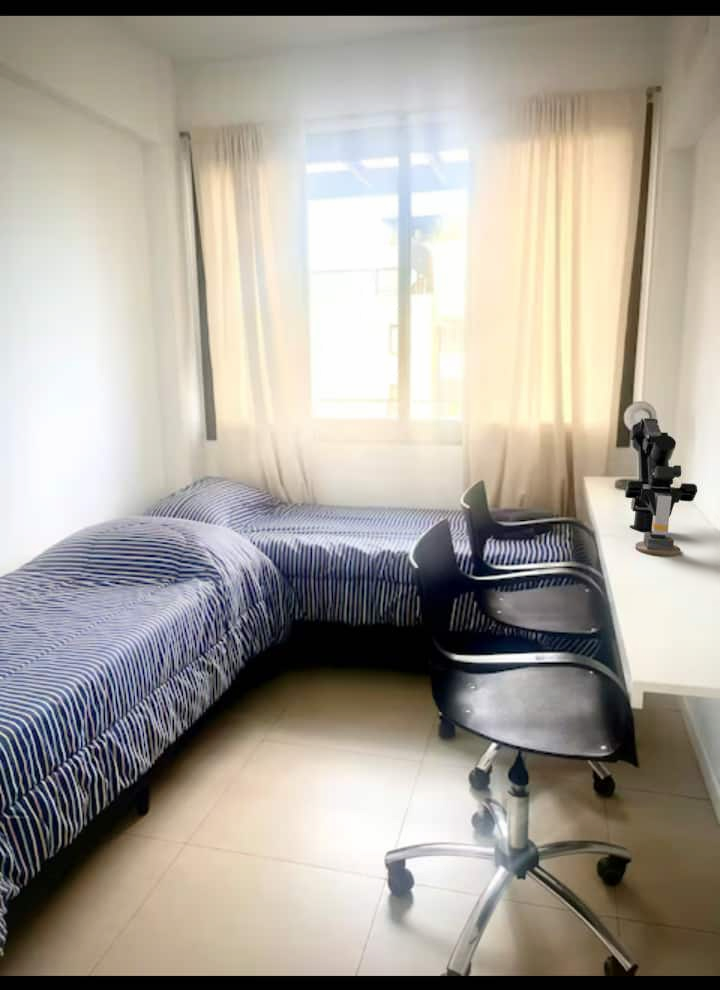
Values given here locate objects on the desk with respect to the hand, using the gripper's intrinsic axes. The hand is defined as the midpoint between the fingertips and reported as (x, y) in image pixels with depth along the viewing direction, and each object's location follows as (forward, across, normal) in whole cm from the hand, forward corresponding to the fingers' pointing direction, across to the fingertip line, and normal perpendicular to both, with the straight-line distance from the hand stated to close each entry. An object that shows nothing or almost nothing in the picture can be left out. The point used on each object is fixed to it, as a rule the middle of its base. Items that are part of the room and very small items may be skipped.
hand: (662, 515), depth 196 cm
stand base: (+7, 0, +8) cm, 11 cm away
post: (+3, 0, +5) cm, 6 cm away
